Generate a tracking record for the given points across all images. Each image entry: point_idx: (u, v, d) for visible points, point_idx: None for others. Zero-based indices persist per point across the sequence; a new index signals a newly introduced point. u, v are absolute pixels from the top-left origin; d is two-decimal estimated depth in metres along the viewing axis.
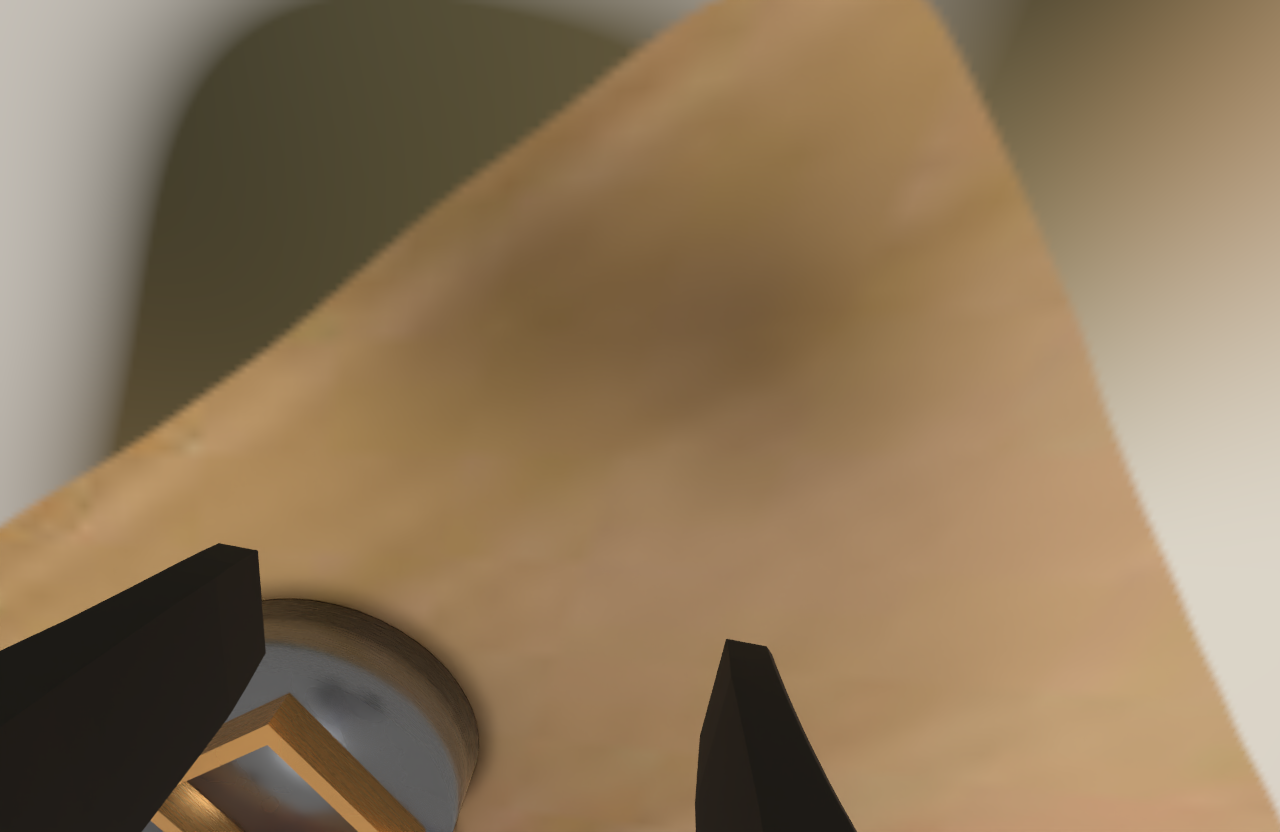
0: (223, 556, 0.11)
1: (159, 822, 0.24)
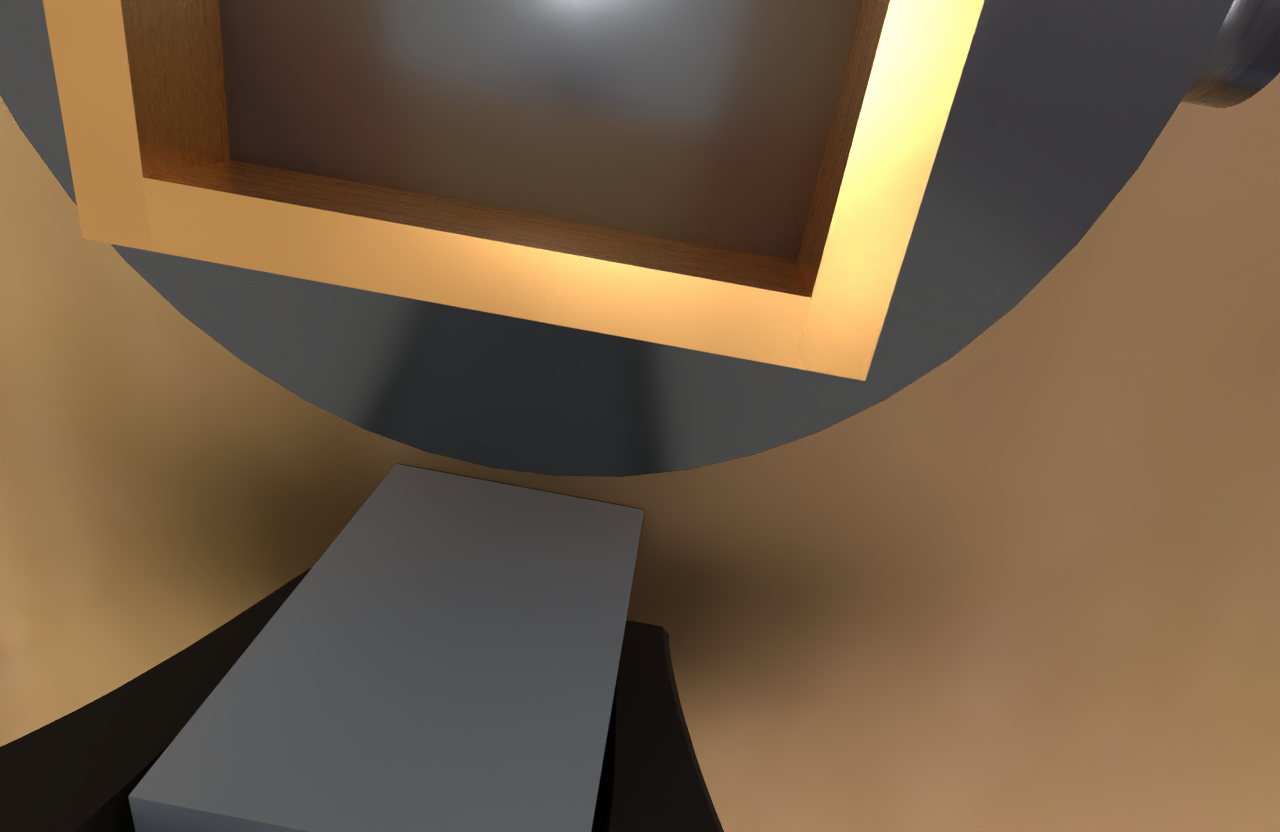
0: None
1: (264, 245, 0.06)
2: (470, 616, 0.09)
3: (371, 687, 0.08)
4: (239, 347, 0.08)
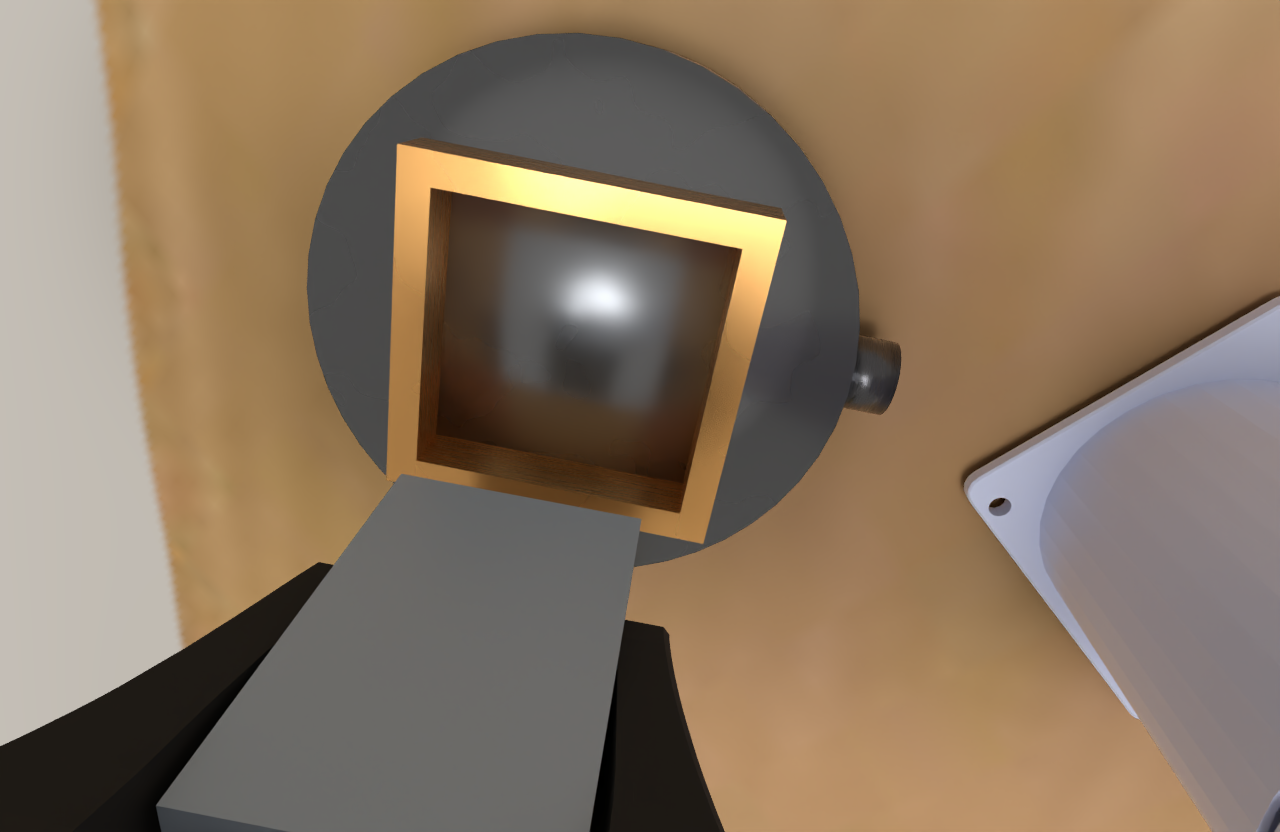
0: None
1: None
2: (474, 628, 0.10)
3: (381, 698, 0.08)
4: None
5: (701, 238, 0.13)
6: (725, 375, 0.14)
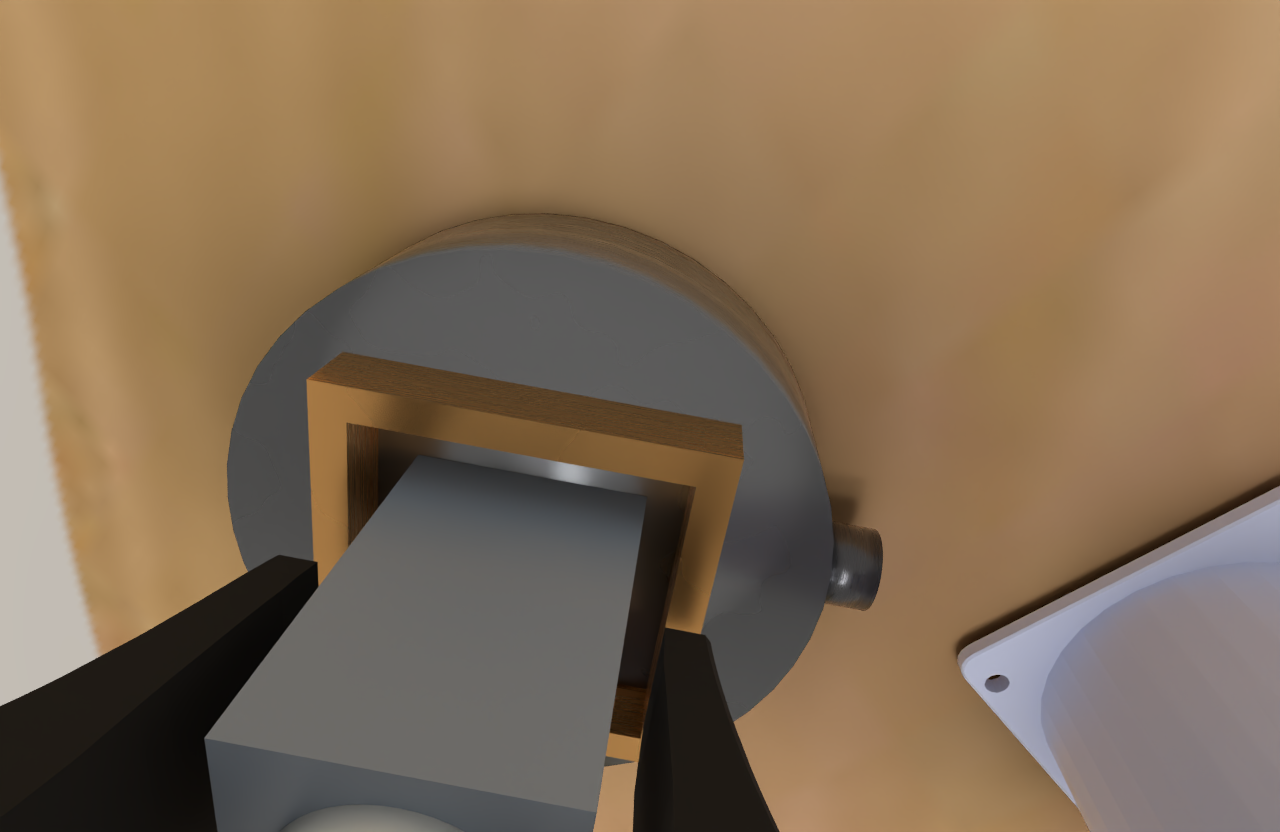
0: (285, 567, 0.11)
1: None
2: (492, 590, 0.10)
3: (408, 650, 0.09)
4: None
5: (649, 476, 0.11)
6: (683, 608, 0.12)
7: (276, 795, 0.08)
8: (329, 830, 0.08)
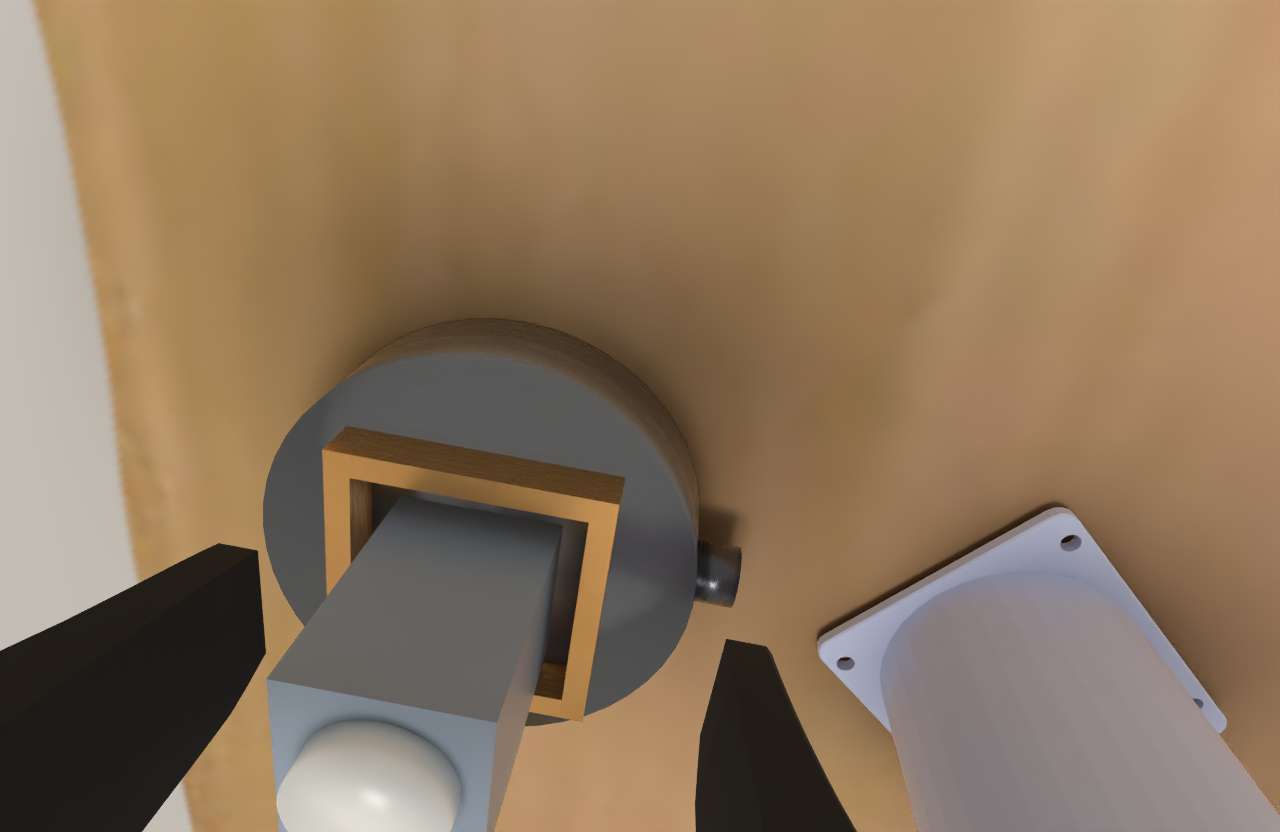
0: (222, 556, 0.11)
1: None
2: (446, 592, 0.15)
3: (388, 630, 0.14)
4: None
5: (556, 514, 0.17)
6: (585, 606, 0.18)
7: (308, 715, 0.13)
8: (340, 733, 0.13)
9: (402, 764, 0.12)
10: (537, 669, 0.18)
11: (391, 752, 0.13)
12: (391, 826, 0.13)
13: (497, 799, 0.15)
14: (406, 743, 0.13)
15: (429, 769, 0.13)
